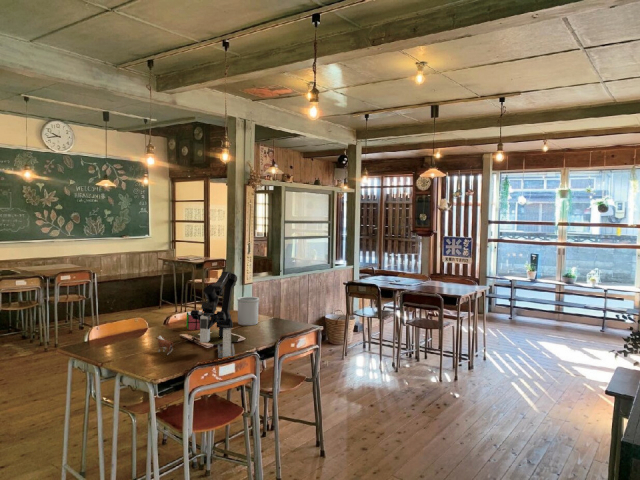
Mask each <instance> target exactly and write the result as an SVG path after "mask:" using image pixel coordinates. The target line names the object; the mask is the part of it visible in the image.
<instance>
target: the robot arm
mask: <svg viewBox="0 0 640 480" xmlns="http://www.w3.org/2000/svg"><path fill="white" fill-rule="evenodd" d="M237 282H238V276H237V275H236V274H235V273H233V272H231V271H224V270H223V271H221V274H220V276H219V277H218V280H217V281H216V282H214V283H212V284H208V285H207V286H205V287H204V288H203V293H204V295H205V298H206V299H207V301H205V302H204V301H203V302H202V303H201V307H200V308H201V309H202V312H203V313H202V312H199V311H200V310H199V309H192V310H191V311H190V312H191V313H190V314H191V316H192V318H193V319H198V320H199V322H200V316H202V315H210V322H209V325H208V329H210V330H211V328H212V327H213V326H214V325H215V324H216V328H218V337H219V336H220V337H223V328H231V329H232V328H233V326H234V323H233V321H232V320H233V319H232V315H231V313H230V309H231V308H230V307H231V301H232V295H233V289H234V287H236V285H237ZM222 295H223V298H222V305H221V310H220V311H218V310H217V307H218V303H219V302H220V300H219V299H220V298H219V296H222Z"/></svg>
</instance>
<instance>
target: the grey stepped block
mask: <svg viewBox="0 0 640 480" xmlns="http://www.w3.org/2000/svg"><path fill="white" fill-rule="evenodd" d="M234 355H235V356H236V351H235V344H234V343H232V328H223V338H222V346H221V344H219V343H218V344H217V359H218V358H223V357H228V356H234Z"/></svg>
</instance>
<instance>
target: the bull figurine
mask: <svg viewBox="0 0 640 480" xmlns="http://www.w3.org/2000/svg"><path fill="white" fill-rule="evenodd" d="M155 339H156V340H157V345H158V350H157V353H160V352H161V349H163V350H162V352H164V353H165V352H166V350H167V353H166V355H167V356H170V354H171V353H172V352H173V350H174V342H173V341H172V340H167V339H165V337H164V336H163V337H162V335H159V336H158V337H155Z"/></svg>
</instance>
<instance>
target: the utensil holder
mask: <svg viewBox="0 0 640 480" xmlns="http://www.w3.org/2000/svg"><path fill="white" fill-rule="evenodd" d="M259 303H260V297H258V296H239V297H237V324H238V325H241V326H254V325H257V324H258V323H259Z"/></svg>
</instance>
